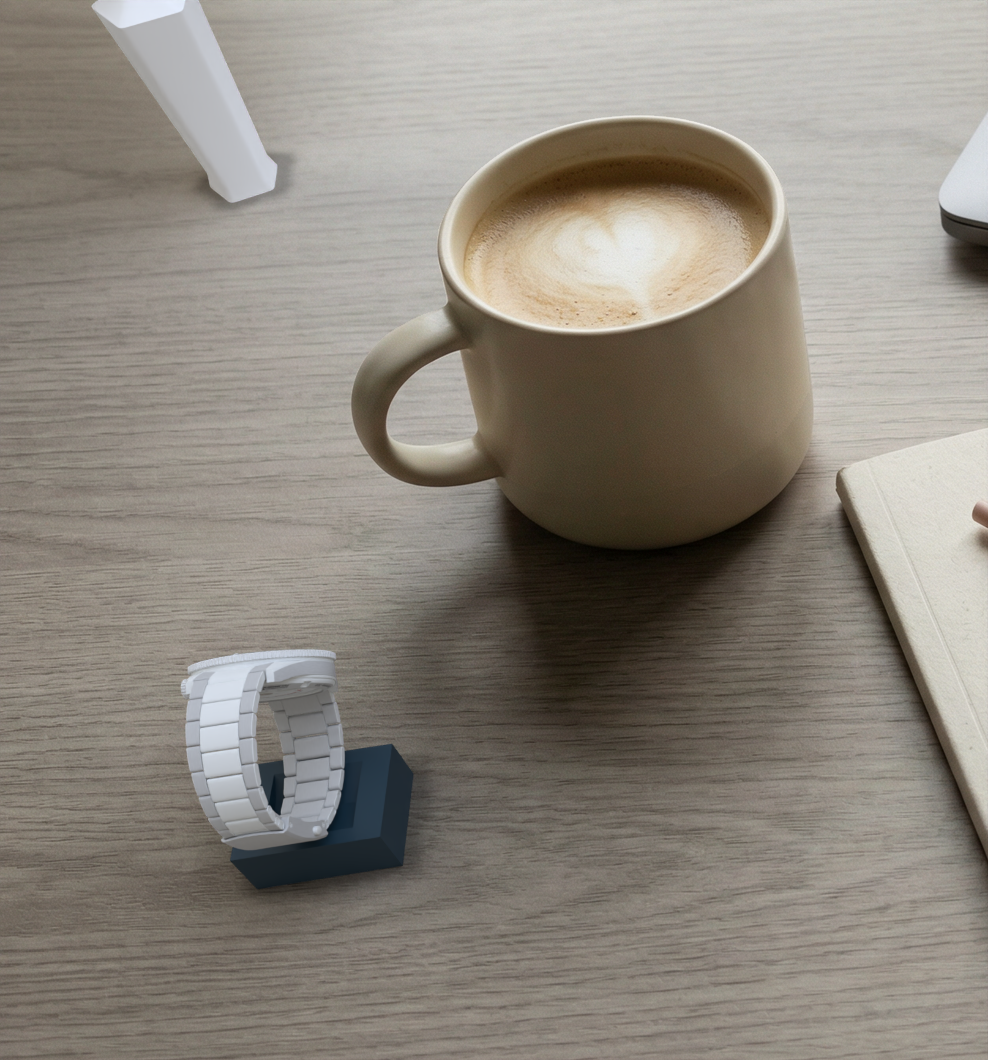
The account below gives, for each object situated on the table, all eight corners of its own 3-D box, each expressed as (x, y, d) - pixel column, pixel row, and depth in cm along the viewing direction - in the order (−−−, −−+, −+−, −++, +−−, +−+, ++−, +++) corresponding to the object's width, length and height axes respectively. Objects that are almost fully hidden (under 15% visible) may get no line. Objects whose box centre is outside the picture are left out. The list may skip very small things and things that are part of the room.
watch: (424, 743, 73) (319, 589, 64) (404, 913, 68) (288, 772, 59) (285, 764, 72) (160, 611, 63) (255, 938, 67) (115, 798, 58)
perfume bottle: (284, 153, 96) (155, -87, 85) (303, 196, 94) (174, -44, 82) (198, 180, 95) (55, -60, 83) (216, 225, 92) (71, -15, 81)
